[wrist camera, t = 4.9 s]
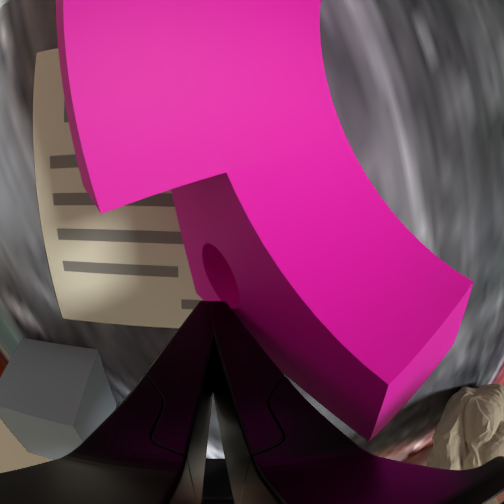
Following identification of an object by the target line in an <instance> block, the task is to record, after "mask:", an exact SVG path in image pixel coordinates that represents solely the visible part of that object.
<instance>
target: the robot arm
mask: <svg viewBox="0 0 504 504" xmlns="http://www.w3.org/2000/svg"><path fill="white" fill-rule="evenodd" d="M213 394H214V400H215V406H216V412H217V418H218V423H219V429H220V434H221V439H222V445H223V450H224V455H225V459H206V451H207V442H208V432H209V424H210V415H211V406H212V398H213ZM503 491H504V456H497V457H495V458H493V459H492V460H490V461H488V462H486V463H485V464H483V465H481V466H479V467H476V468H472V469H467V470H448V469H441V468H434V467H428V466H422V465H416V464H410V463H405V462H400V461H395V460H390V459H386V458H382V457H378V456H376V455H373V454H371V453H369V452H367V451H365V450H364V449H362V448H361V447H359V446H358V445H357V444H355V443H354V442H353V441H352V440H350V439H349V438H348V437H347V436H346V435H345V434H343V433H342V432H341V431H340V430H339V429H338V428H336V427H335V426H334V425H333V424H332V423H331V422H330V421H328V420H327V419H326V418H325V417H324V416H323V415H322V414H321V413H319V412H318V411H317V410H316V409H315V408H314V407H313V406H312V405H311V404H310V403H309V402H308V401H307V400H306V399H305V398H304V397H303V396H302V395H301V394H300V393H299V391H298V390H297V389H296V388H295V387H294V386H293V385H292V383H291V382H290V381H289V380H288V379H287V377H284V374H283V373H282V371H281V370H280V369H279V368H278V367H277V365H276V364H275V363H274V362H273V360H272V359H271V358H270V357H269V356H268V354H267V353H266V352H265V351H264V349H263V348H262V347H261V346H260V344H259V343H258V342H257V341H256V339H255V338H254V337H253V336H252V334H251V333H250V332H249V330H248V329H247V328H246V327H245V325H244V324H243V323H242V322H241V320H240V319H239V318H238V316H237V315H236V314H235V313H234V311H233V310H232V309H231V307H230V306H229V305H228V303H227V302H225V301H200V302H199V303H198V304H197V305H196V307H195V308H194V309H193V311H192V312H191V313H190V314H189V316H188V317H187V318H186V320H185V321H184V322H183V324H182V325H181V326H180V328H179V329H178V330H177V332H176V333H175V334H174V336H173V337H172V338H171V340H170V341H169V342H168V344H167V345H166V346H165V348H164V349H163V350H162V352H161V353H160V354H159V356H158V357H157V358H156V360H155V361H154V362H153V364H152V365H151V366H150V368H149V369H148V370H147V372H146V373H145V375H144V376H143V377H142V378H141V379H140V381H139V382H138V383H137V385H136V386H135V387H134V389H133V390H132V391H131V392H130V393H129V395H128V396H127V397H126V398H125V400H124V401H123V402H122V403H121V404H120V405H119V406H118V407H117V408H116V409H115V410H114V411H113V412H112V413H111V414H110V415H109V416H108V417H107V418H106V419H105V420H104V421H103V422H102V423H101V424H100V425H99V426H98V427H97V428H96V429H95V430H94V431H93V432H92V433H91V434H90V435H89V436H88V437H87V438H86V439H85V440H84V441H83V442H82V443H81V444H80V445H79V446H78V447H77V448H76V449H74V450H73V451H72V452H70V453H69V454H67V455H65V456H63V457H61V458H59V459H56V460H53V461H49V462H45V463H42V464H38V465H34V466H30V467H26V468H22V469H18V470H13V471H9V472H4V473H0V504H498V502H497V499H496V497H495V496H497V495H498V494H500V493H501V492H503ZM500 504H504V501H503V502H501V503H500Z"/></svg>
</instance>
